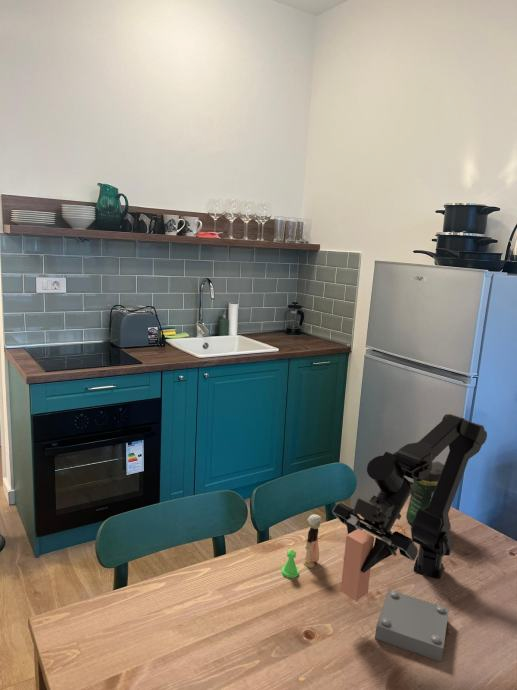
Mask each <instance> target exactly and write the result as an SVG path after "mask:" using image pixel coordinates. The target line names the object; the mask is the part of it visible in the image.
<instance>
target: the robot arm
mask: <svg viewBox="0 0 517 690" xmlns="http://www.w3.org/2000/svg"><path fill="white" fill-rule="evenodd" d="M487 438H488V432H487V431H486V430H485V426H484V425H483V424H478V423H475V422H473V421H468V420H467V419H465V418H464V417H461V416H458V415H456V414H455V415H454V414H452V413H451V414H450V413H449V414H448V413H446V414H444V416H443V417H442V419H441V421H440V422H439V423H438V424H436V426H434V428H432V429H431V430H430V431H429V432H428V433H427V434H425V436H423V437H422V438H421V439H419V441H417V442H414V443H412V442H411V443H407V444H405V445H404V446H402V447H400V448H399V449H398V450H396V451H395V452H394V453H391V452H388V451H384V453H383V455H378V456H375V457H374V458H372V459H371V460H369V461H368V464H367V466H366V472H367V475H368V476H369V477H370V479H371V480H372V482H373V483H374V485H375V486H376V487H377V488H378V490H379V491H378V493H377V495H373V496H372V497H371V498H370V500H368V499H365V498H361V497H357V499H356V501H355V505H354V507H353V508H352V507H350V506H348V505H346V504H344V503H343V502H342V503H341V502H339V503H338V504H336V505H335V506H334V507H333V509H332V510H331V513H332V514H333V515H334V516H335V517H336V518H337V519H338V520H339V522H340V523H342V524H344V525H345V527H346V530H347V535H348V534H349V533H351V532H353V531H355V530H357V529H360V530H362V531H363V530H364V531H366V533H367V532H368V534H370V535H373V536H376V537H375V538H374V544H373V549H372V550H371V552H370V554H369V555H368V557H367V559H366V560H365V562H364V564H363V566H362V568H361V572H363V573H364V572H366V571H367V570H369V569H370V568H373V567H374V566H375V565H377V564H379V563H380V562H382V561H383V560H385V559H387V558H389V557H391V556H393V557H396V556H397V553H396V552H397V550H399V555H401V556H403V557H405V558H406V559H407V560H410V561H413V562H414V561H415V563H414V565H413V572H417V573H418V574H419V573H420V574H423V575H426V576H430V577H433V578H437V579H441V578H442V575H443V574H442V572H443V567H444V564H443V562H442V561H443V557H447V556H451V552H452V550H453V549H454V546H455V545H454V544H455V541H454V540H453V538H452V537H451V536H450V531H451V529H452V527H451V526H452V525H451V521H450V516H449V512H450V510H451V507H452V505H453V502H454V499H455V497H456V495H457V492H458V488H459V486H460V483H461V481H462V478H463V475H464V472H465V471H466V468H467V465H468V462H469V460H470V459H471V458H473V457H474V456H475V455H477V454H479V452H480V451H481V448H482V446H483V445H484V444H485V443H486V441H487ZM446 448H448V449H449V452H448V454H447V457H446V459H445V462H444V463H443V464H444V467H443V470H442V472H441V475H440V477H439V480H438V483H437V485H436V488H435V490H434V493H433V496H432V498H431V501H430V504H429V506H427V507H426V508H424V509H423V510H421V509H420V510H419V511H418V512H417V515H416V518H415V520H414V521H413V523H412V525H411V524H410V533H411V538H410V537H409V536H406V535H404V534H403V533H401V532H399V531H397V530H396V531H393V532H392V531H391V529H393V526H394V524H395V522H396V521H397V520H399V521H400V519H401V518H402V515H401V511H402V509H403V508H404V506H405V504H406V502H407V501H408V499H409V498H410V496H411V495H414V492H415V491H414V488H413V481H410V480H408V479H407V478H409V479H412V480H413V479H414V480H416V481H419V482H420V481H422V480H424V479H425V478H426V477H427V476H428V475H429V473H430V471H431V470H432V462H434V460H435V459H436V458H437V457H438V456H439V455H440V454H441V453H443V451H444V450H445V449H446ZM406 477H407V478H406ZM417 545H418V546H419V547H418V546H417ZM370 570H371V569H370Z"/></svg>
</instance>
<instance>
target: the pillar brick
mask: <svg viewBox="0 0 517 690" xmlns="http://www.w3.org/2000/svg"><path fill="white" fill-rule="evenodd" d="M374 543H375V537H374V535H373V536H372V534H370V533H367V532H365V530H364V531H363V530H360V529H357V530H355V531H353V532H351V533H349V534H348V533H347V534H346V538H345V545H344V546H345V547H344V554H343V555H344V556H343V566H342V575H341V585H340V592H341V593H343V594H344V595H346V596H347V597H348V598H350V599H351V600H353V601H355V602H358V601H359V600H360V599H362V598H363V597H364V596H367V595H368V594H369V586H370V575H371V568H372V567H371V568H370V569H369V570H367V571H366V572H364V573H363V572H361V568H362V566H363V564H364V562H365V560H366V559H367V557H368V555H369V554H370V552H371V550H372V549H373V547H374Z"/></svg>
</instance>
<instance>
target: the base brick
mask: <svg viewBox="0 0 517 690" xmlns="http://www.w3.org/2000/svg"><path fill="white" fill-rule="evenodd" d="M449 611H450V608H448V607H446V606H442V605H440V604H439V605H438V604H436V603H433V602H429V601H426V600H423V599H420V598H417V597H414V596H411V595H408V594H404V593H401V592H397V591H394V590H391V589H387V592H386V595H385V598H384V602H383V604H382V608H381V609H380V614H379V617H378V620H377V623H376V626H375V634H374V639H376V640H378V641H381V642H384V643H387V644H389V645H393V646H395V647H399V648H401V649H404V650H407V651H410V652H412V653H415V654H418V655H421V656H423V657H426V658H429V659H432V660H435V661H438V662H442V659H443V652H444V647H445V639H446V633H447V625H448V618H449Z"/></svg>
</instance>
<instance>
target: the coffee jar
mask: <svg viewBox="0 0 517 690" xmlns="http://www.w3.org/2000/svg"><path fill="white" fill-rule="evenodd" d="M444 464H445V463H442V462H440V461H436V460H435V461H432V470H431V471H430V473H429V475H428V476H427V477H426V478H425V479H424V480H422V481H420V482H419V481H416V480H414V479H412V480H413V481H412V483H413V488H414V491H415V492H414V495H410V497H409V501H408V502H409V503H408V506H407V510H406V516H405V517H406V520H407V522H408V523H409V524H410V526H411V525H412V523H413V521H414V520H415V518H416V515H417V512H418V511H419V510H420V509H421V510H423V509H424V508H426V507H427V506H429V504H430V501H431V498H432V496H433V493H434V490H435V488H436V485H437V483H438V480H439V477H440V475H441V472H442V470H443V467H444Z"/></svg>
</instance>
